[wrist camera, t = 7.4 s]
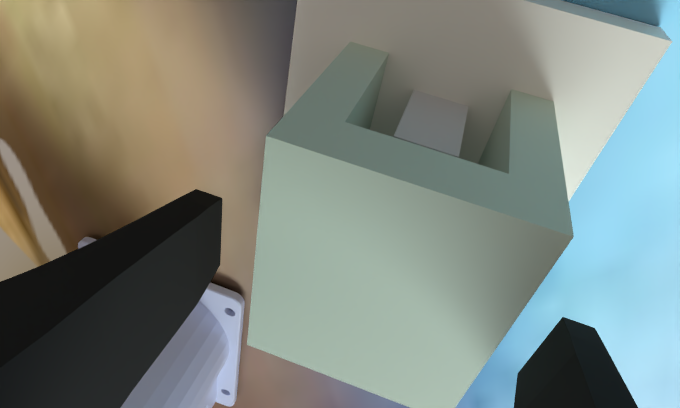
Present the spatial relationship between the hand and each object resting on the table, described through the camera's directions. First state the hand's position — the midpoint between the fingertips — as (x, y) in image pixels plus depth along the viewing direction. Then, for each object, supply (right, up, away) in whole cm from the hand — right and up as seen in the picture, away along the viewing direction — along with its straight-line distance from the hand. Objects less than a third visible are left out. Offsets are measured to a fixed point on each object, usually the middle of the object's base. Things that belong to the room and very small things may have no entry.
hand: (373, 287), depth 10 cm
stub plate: (+2, +3, +4) cm, 5 cm away
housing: (+1, +3, +3) cm, 4 cm away
